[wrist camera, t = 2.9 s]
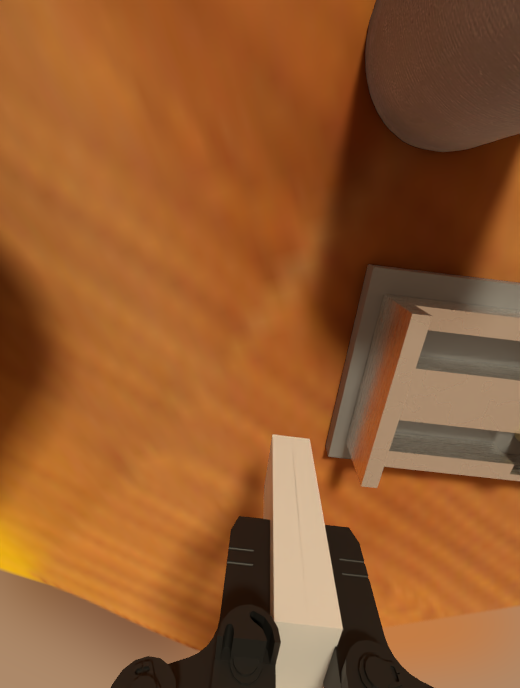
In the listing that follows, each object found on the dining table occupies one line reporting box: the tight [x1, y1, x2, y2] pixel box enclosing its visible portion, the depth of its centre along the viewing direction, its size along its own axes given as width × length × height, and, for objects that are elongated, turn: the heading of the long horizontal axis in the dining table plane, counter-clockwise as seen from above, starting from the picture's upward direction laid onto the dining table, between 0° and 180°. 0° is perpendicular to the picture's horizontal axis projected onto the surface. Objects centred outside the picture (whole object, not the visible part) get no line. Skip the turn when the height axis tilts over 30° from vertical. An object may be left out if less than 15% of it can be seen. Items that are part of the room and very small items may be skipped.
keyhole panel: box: [346, 294, 520, 488], centre depth 20 cm, size 17×11×4 cm, turn 83°
